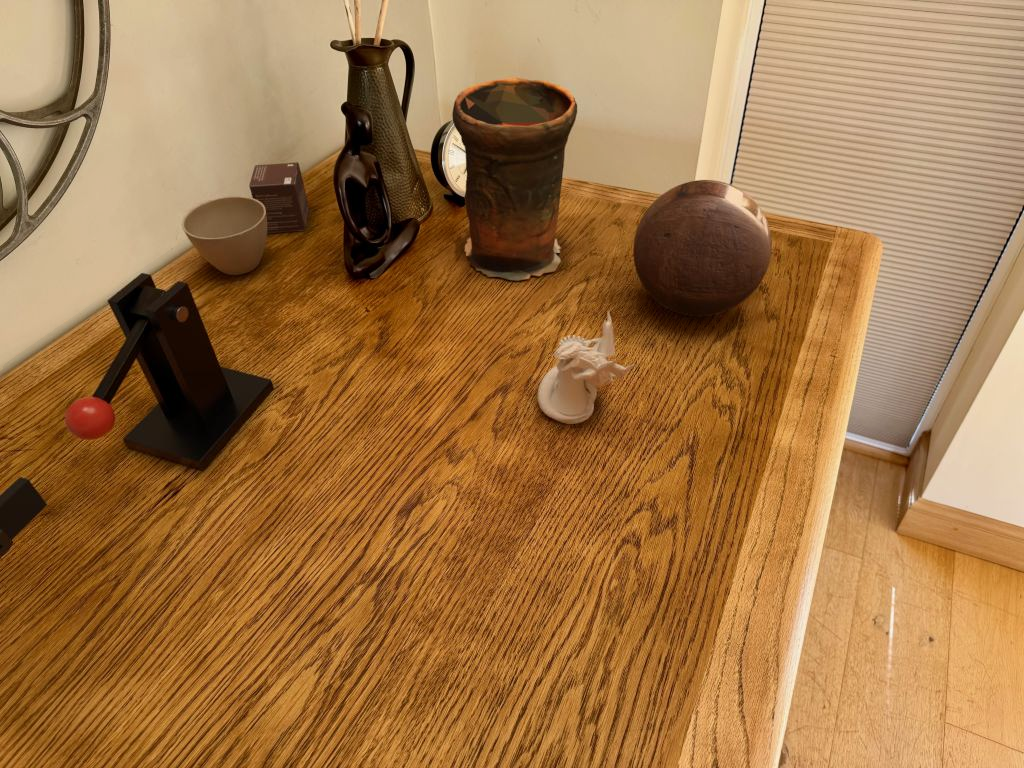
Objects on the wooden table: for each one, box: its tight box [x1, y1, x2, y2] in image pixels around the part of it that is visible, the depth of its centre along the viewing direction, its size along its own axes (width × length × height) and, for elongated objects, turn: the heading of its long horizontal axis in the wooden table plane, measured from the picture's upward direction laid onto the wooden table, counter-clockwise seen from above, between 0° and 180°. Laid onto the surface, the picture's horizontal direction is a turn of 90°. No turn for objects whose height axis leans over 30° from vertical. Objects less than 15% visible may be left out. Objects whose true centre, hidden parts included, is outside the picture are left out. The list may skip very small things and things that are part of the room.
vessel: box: [451, 77, 578, 281], centre depth 89 cm, size 14×14×20 cm
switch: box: [64, 286, 167, 441], centre depth 62 cm, size 14×4×4 cm, turn 160°
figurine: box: [537, 310, 636, 425], centre depth 69 cm, size 11×8×12 cm
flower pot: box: [181, 195, 268, 276], centre depth 92 cm, size 10×10×7 cm
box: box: [248, 162, 310, 234], centre depth 99 cm, size 6×6×7 cm
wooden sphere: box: [632, 179, 773, 317], centre depth 81 cm, size 15×15×15 cm
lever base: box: [106, 272, 275, 471], centre depth 69 cm, size 12×9×16 cm
